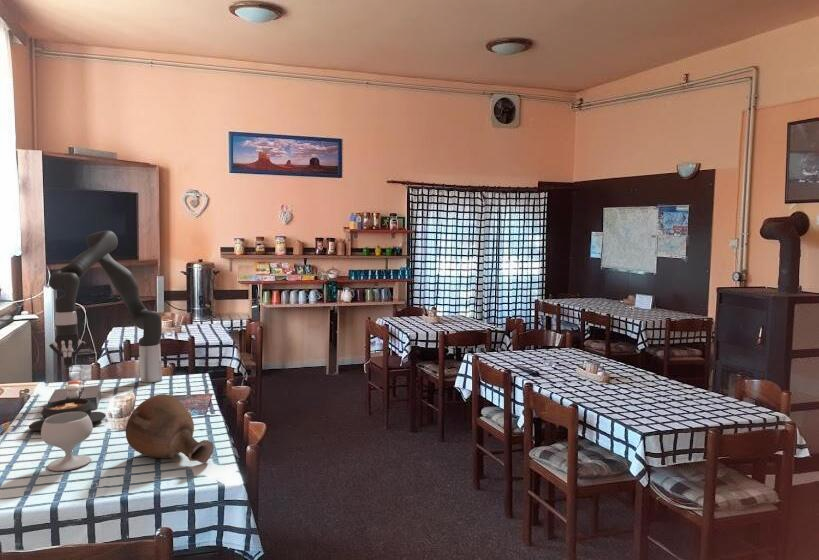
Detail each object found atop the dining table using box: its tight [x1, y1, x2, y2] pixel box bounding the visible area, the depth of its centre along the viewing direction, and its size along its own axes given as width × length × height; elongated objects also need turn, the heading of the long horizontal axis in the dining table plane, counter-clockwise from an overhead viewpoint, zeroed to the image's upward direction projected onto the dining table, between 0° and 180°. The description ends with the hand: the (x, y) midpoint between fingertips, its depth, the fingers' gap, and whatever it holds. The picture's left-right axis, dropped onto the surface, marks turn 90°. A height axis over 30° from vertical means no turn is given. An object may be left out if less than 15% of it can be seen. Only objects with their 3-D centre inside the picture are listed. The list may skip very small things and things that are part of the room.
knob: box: [64, 384, 80, 399], centre depth 248 cm, size 5×5×6 cm
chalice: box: [40, 412, 94, 472], centre depth 192 cm, size 14×14×15 cm
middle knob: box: [67, 379, 83, 394], centre depth 255 cm, size 5×5×6 cm
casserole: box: [28, 398, 107, 431], centre depth 229 cm, size 25×19×8 cm
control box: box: [47, 384, 102, 411], centre depth 255 cm, size 17×20×5 cm
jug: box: [125, 393, 214, 464], centre depth 196 cm, size 20×20×30 cm
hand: (68, 366), depth 248 cm, fingers closed
